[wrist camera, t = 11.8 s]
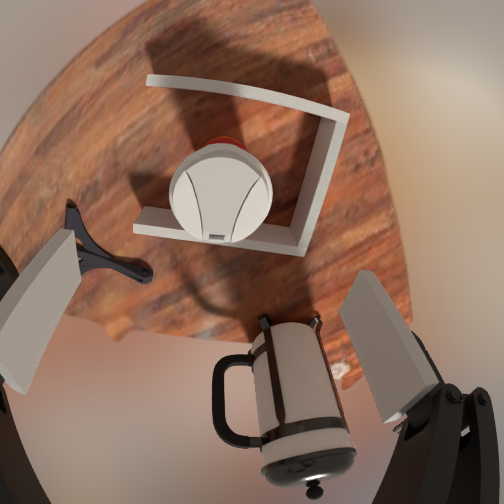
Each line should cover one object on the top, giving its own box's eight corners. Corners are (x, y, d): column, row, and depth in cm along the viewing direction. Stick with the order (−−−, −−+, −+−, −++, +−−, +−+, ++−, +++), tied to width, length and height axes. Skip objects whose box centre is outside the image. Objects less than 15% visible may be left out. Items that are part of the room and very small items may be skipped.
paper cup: (251, 191, 33) (265, 253, 21) (188, 186, 32) (166, 246, 20) (260, 129, 29) (284, 153, 17) (193, 123, 28) (167, 143, 16)
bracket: (147, 304, 42) (143, 316, 40) (68, 278, 38) (61, 288, 36) (164, 230, 36) (160, 240, 33) (70, 201, 32) (60, 209, 29)
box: (144, 214, 33) (133, 232, 29) (160, 77, 25) (147, 74, 20) (295, 236, 37) (304, 256, 33) (332, 110, 28) (349, 113, 24)
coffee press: (302, 288, 42) (361, 483, 17) (333, 339, 50) (379, 482, 25) (210, 330, 46) (210, 508, 20) (255, 371, 54) (271, 509, 28)
